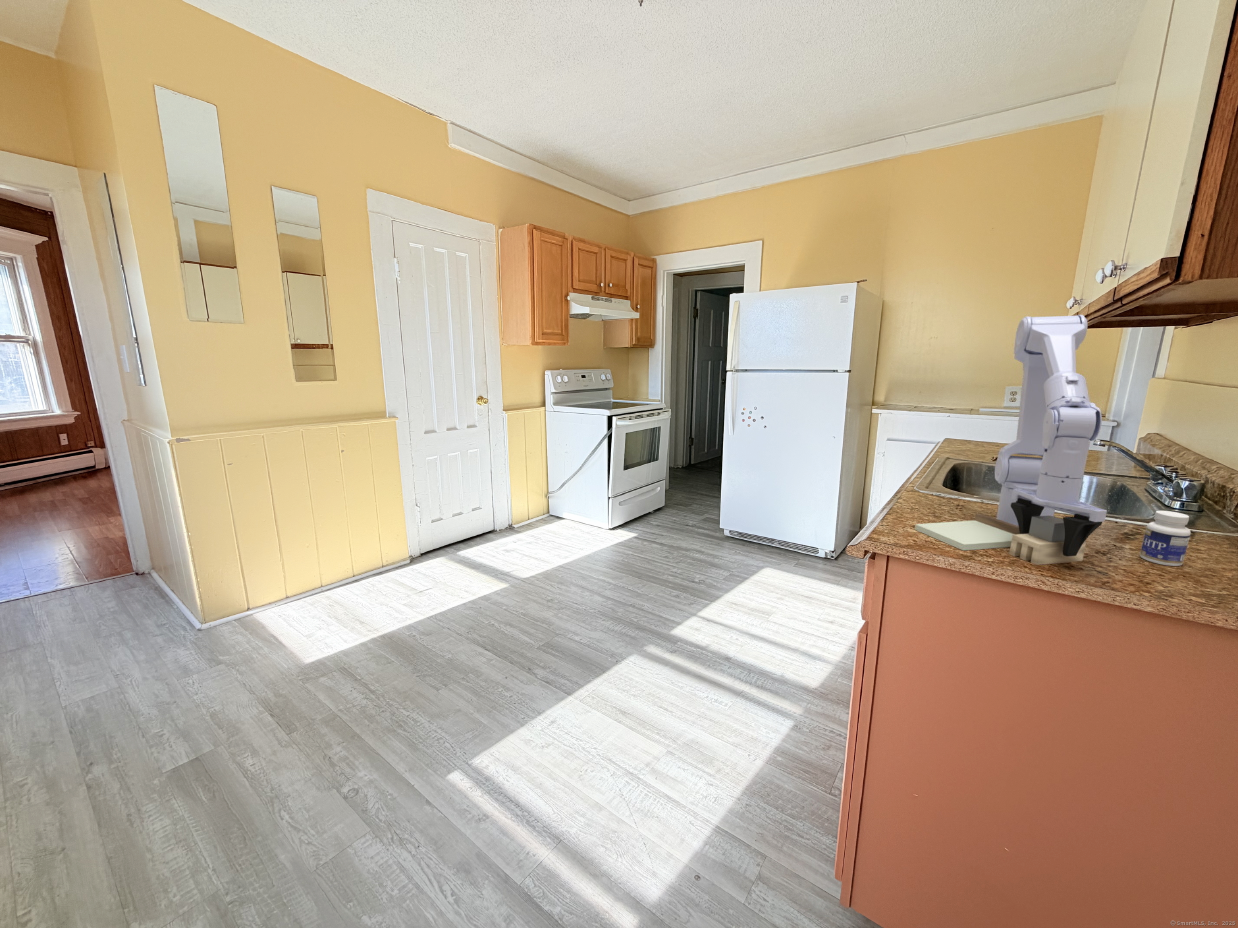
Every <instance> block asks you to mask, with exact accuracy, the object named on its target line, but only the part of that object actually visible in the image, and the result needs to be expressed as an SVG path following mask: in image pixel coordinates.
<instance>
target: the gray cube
mask: <svg viewBox="0 0 1238 928" xmlns="http://www.w3.org/2000/svg"><path fill="white" fill-rule="evenodd" d="M1029 535H1031V536H1034V537H1037V538H1040V539H1043V540H1046V541H1048V542H1063V541H1064V539H1065V528H1064V522H1063V518H1060V517H1056V516H1054V517H1053V516H1035V517H1032V519H1031V525H1030V530H1029Z"/></svg>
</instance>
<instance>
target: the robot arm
mask: <svg viewBox="0 0 1238 928" xmlns="http://www.w3.org/2000/svg"><path fill="white" fill-rule="evenodd" d="M1017 325H1018V326H1017V328H1016V332H1015V339H1014V348H1013V354H1014V360H1016V361H1019V362H1020V363H1021V364H1022V371H1023V375H1022V385H1021V393H1020V403H1019V414H1018V421H1017V428H1016V429H1017V431H1016V439H1015V440H1014V441H1012V442H1010V443H1008V444H1006V445H1004V446H1003V447H1001V448H1000V450H999V451H998V455H997V459H996V462H995V466H994V479H995V481H996V482H997V483H998V484H999V485H1001V490H1000V496H999V500H998V508H997V514H996V519H998V520H1001V521H1004V522H1007V523H1010V524H1013V525H1016V526H1019V532H1020V534H1029V530H1030V525H1031V519H1032V517H1035V516H1053V517H1055V516H1054V515H1055V512H1056V511H1059V512H1061V513H1066V514H1070V515H1073V516H1063V517H1062V519H1063V522H1064V528H1065V539H1064V545H1063V555H1064V556H1067V557H1068V556H1076V555H1077V553H1078V551H1079V549H1080V548H1081V546H1082V544H1083V543H1084V542H1085V541H1087V539H1088V538H1089V537H1090V536H1091V534H1093V533H1094V532H1095V531H1096V530H1097V529H1098V528H1099V527H1101V525H1102V524H1103V522H1105V521H1106V516H1107V513H1108V511H1107V509H1103V508H1099V507H1097V506H1094V505H1091V504H1088V503H1086V502H1082V501H1079V498H1080V494H1081V490H1082V489H1081V488H1082V485H1083V479H1084V475H1085V469H1086V465H1087V459H1088V455H1089V450H1090V444H1091V442H1092V441H1095V440H1096V439H1097V438H1098V436H1099V434H1100V432H1101V428H1102V423H1103V422H1102V421H1103V420H1102V419H1103V418H1102V410H1101V409H1100V408H1099V407H1098V406H1096V403H1094V402H1091V399H1090V395H1089V390H1088V385H1087V380H1086V377H1085V376H1084V375H1082V374H1081V373H1077V362H1076V361H1077V359H1076V358H1077V356H1076V351H1077V350H1078V349H1079V348H1080V345H1081V344H1082V343H1083V341H1084V340H1085V338H1086V335H1087V332H1088V319H1087V318H1086V317H1085V316H1084V314H1077V315H1062V316H1061V315H1059V316H1058V315H1057V316H1056V315H1055V316H1053V315H1052V316H1029V315H1028V316H1027V315H1026V316H1024V317H1023V318H1022V319H1021V320H1020V321H1019V323H1018V324H1017ZM1018 455H1019V456H1018ZM1020 455H1024V456H1020ZM1037 456H1038V457H1037Z"/></svg>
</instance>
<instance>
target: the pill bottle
mask: <svg viewBox="0 0 1238 928" xmlns="http://www.w3.org/2000/svg"><path fill="white" fill-rule="evenodd" d="M1189 519H1190V516H1189V515H1188V514H1184V513H1181V512H1178V511H1177V512H1176V511H1170V510H1156V511H1155V514H1154V518H1153V520H1155V521H1150V522H1148V523H1147V524H1146V528H1145V531H1144V536H1143V540H1142V544H1141V549H1140V551H1139V552H1140V553H1139V556H1140V558H1142V559H1143V560H1145V561H1148V562H1150V563H1155V564H1157V565H1158V564H1159V565H1162V566H1172V567H1179V566H1182V565H1183V563H1184V560H1185V555H1186V552H1187V548H1188V546H1189V545H1188V544H1189V541H1190V538H1191V530H1190V528H1188V527H1186V525H1188V523H1189Z"/></svg>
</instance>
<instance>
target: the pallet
mask: <svg viewBox="0 0 1238 928" xmlns="http://www.w3.org/2000/svg"><path fill="white" fill-rule="evenodd" d="M1086 544H1087V540H1085V542H1084V543H1083V544H1082V546H1081V548H1080V549H1079V551H1078V553H1077V555H1076V556H1068V557H1067V556H1064V555H1063V545H1064V541H1063V542H1048V541H1046V540H1043V539H1040V538H1037V537H1034V536H1031V535H1029V534H1016V535H1013V536H1012V542H1011V547H1009V548H1010V549H1009V555H1010V556H1013V557H1019V559H1020V560H1022V561H1030V563H1031V564H1033V565H1035V566H1038V565H1050V564H1062V563H1072V562H1073V563H1074V562H1083V560H1084V555H1085V550H1086Z"/></svg>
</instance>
